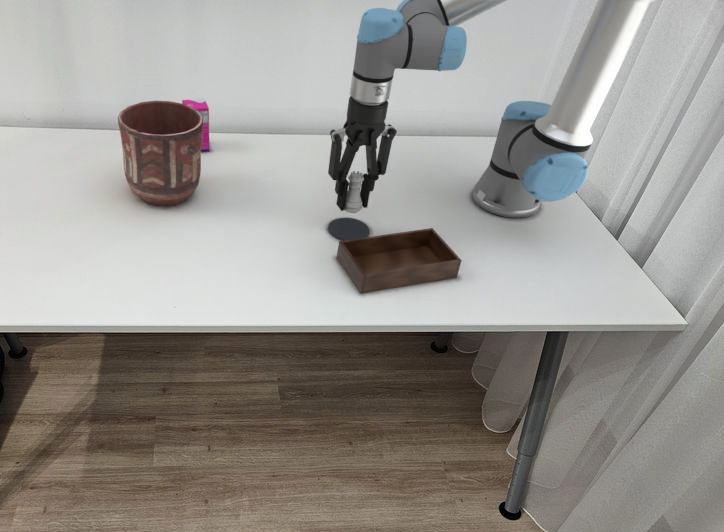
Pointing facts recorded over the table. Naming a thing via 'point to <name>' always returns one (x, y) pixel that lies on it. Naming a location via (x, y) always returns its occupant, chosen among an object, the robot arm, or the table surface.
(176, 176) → the pottery
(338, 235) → the coaster
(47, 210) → the table surface
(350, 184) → the rook chess piece
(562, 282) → the table surface
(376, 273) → the tray
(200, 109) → the supplement box
